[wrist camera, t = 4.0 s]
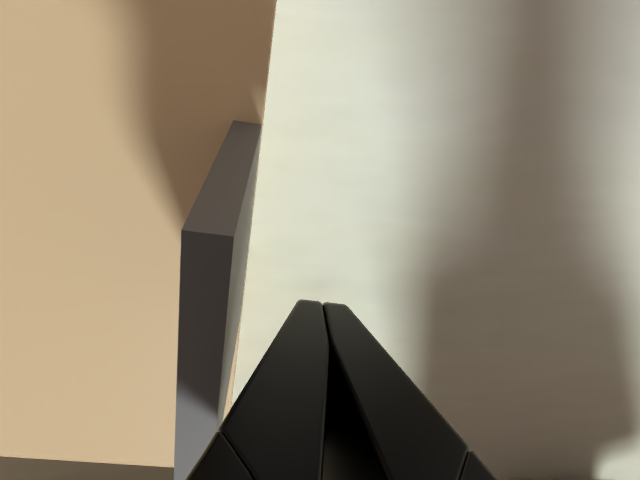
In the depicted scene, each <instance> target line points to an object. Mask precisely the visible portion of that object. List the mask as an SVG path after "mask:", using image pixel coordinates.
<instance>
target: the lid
mask: <svg viewBox="0 0 640 480" xmlns="http://www.w3.org/2000/svg"><path fill="white" fill-rule="evenodd" d="M276 1H277V0H0V456H2V457H18V458H33V459H49V460H65V461H80V462H96V463H111V464H127V465H143V466H158V467H174V480H185V479H186V478H187V476H188V475H189V473H190V472H191V470H192V469H193V467H194V466H195V464H196V463H197V461H198V460H199V458H200V457H201V455H202V454H203V452H204V451H205V449H206V447H207V446H208V444H209V443H210V441H211V439H212V438H213V436H214V435H215V433H216V432H218V429H219V427H220V425H221V424H222V422H223V421H224V419H225V417H226V416H227V414H228V413H229V411H230V409H231V404H232V395H233V386H234V377H235V368H236V359H237V350H238V341H239V332H240V323H241V314H242V305H243V296H244V287H245V279H246V270H247V261H248V252H249V243H250V234H251V225H252V216H253V207H254V198H255V189H256V180H257V171H258V162H259V153H260V144H261V136H262V127H263V118H264V109H265V100H266V91H267V82H268V73H269V64H270V55H271V46H272V37H273V28H274V19H275V10H276Z"/></svg>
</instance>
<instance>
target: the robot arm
mask: <svg viewBox="0 0 640 480" xmlns="http://www.w3.org/2000/svg"><path fill="white" fill-rule="evenodd" d="M468 450H469V447H468V445H467V444H466V443H465V442H464V441H463V440H462V439H461V437H460V436H459V435H458V434H457V433H456V432H455V430H454V429H453V428H452V427H451V426H450V425H449V423H448V422H447V421H446V420H445V419H444V418H443V417H442V415H441V414H440V413H439V412H438V411H437V410H436V408H435V407H434V406H433V405H432V404H431V403H430V401H429V400H428V399H427V398H426V397H425V396H424V394H423V393H422V392H421V391H420V390H419V389H418V388H417V386H416V385H415V384H414V383H413V382H412V381H411V379H410V378H409V377H408V376H407V375H406V374H405V372H404V371H403V370H402V369H401V368H400V367H399V365H398V364H397V363H396V362H395V361H394V360H393V359H392V357H391V356H390V355H389V354H388V353H387V352H386V350H385V349H384V348H383V347H382V346H381V345H380V343H379V342H378V341H377V340H376V339H375V338H374V336H373V335H372V334H371V333H370V332H369V331H368V330H367V328H366V327H365V326H364V325H363V324H362V323H361V321H360V320H359V319H358V318H357V317H356V316H355V314H354V313H353V312H352V311H351V310H350V309H349V307H347V306H346V305H344V304H337V303H328V302H325V303H324V304H323V305H322V303H320V302H319V301H311V300H299V301H298V302H297V303H296V305H295V306H294V308H293V310H292V311H291V313H290V314H289V316H288V318H287V319H286V321H285V322H284V324H283V326H282V327H281V329H280V330H279V332H278V334H277V335H276V337H275V339H274V340H273V342H272V343H271V345H270V347H269V348H268V350H267V351H266V353H265V355H264V356H263V358H262V359H261V361H260V363H259V364H258V366H257V368H256V369H255V371H254V372H253V374H252V376H251V377H250V379H249V380H248V382H247V384H246V385H245V387H244V388H243V390H242V392H241V393H240V395H239V396H238V398H237V400H236V401H235V403H234V405H233V406H232V408H231V409H230V411H229V413H228V414H227V416H226V417H225V419H224V421H223V422H222V424H221V425H220V427H219V429H218V432H216V433H215V435H214V436H213V438H212V439H211V441H210V443H209V444H208V446H207V447H206V449H205V451H204V452H203V454H202V455H201V457H200V458H199V460H198V461H197V463H196V464H195V466H194V467H193V469H192V470H191V472H190V473H189V475H188V476H187V478H186V479H185V480H497V479H496V477H495V476H494V475H493V474H492V473H491V472H490V471H489V470H488V468H487V467H486V466H485V465H484V464H483V463H482V461H481V460H480V459H479V458H478V457H477V456H476V454H475V453H474V452H473V451H469V452H468Z"/></svg>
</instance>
